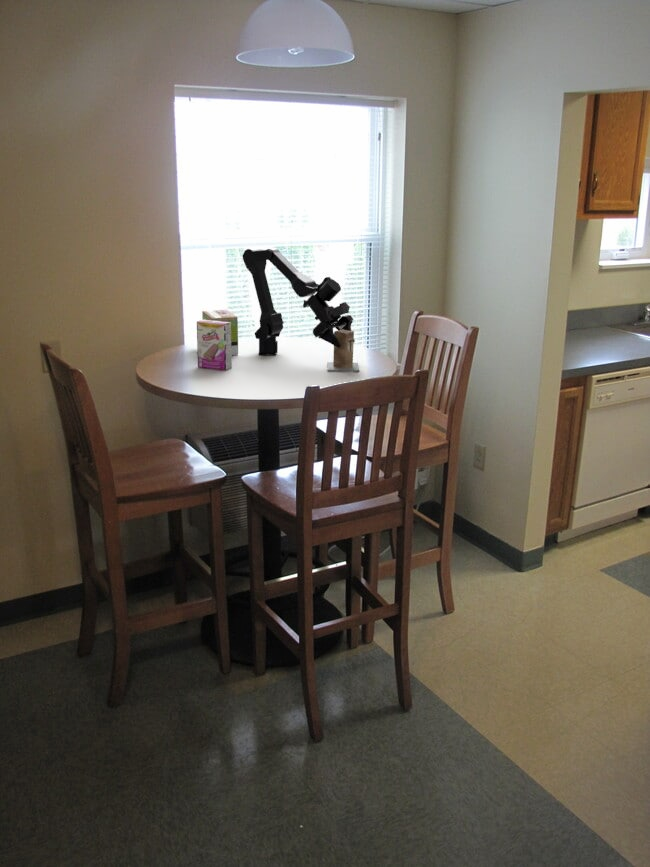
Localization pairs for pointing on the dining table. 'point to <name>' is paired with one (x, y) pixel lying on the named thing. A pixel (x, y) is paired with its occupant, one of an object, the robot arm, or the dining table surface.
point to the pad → (337, 369)
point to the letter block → (344, 349)
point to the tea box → (225, 317)
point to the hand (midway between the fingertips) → (346, 344)
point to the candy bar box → (214, 344)
